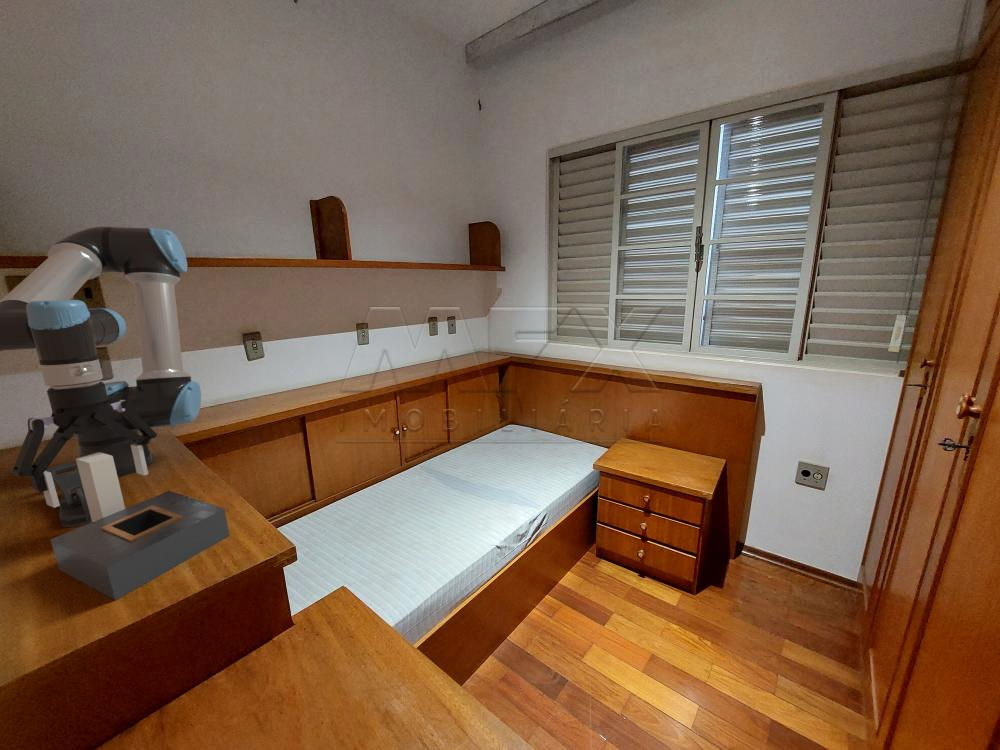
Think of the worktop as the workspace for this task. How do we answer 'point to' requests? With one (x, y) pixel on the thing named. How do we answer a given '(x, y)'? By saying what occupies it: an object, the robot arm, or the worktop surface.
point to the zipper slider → (71, 495)
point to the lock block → (139, 542)
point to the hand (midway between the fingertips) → (101, 488)
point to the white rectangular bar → (100, 485)
